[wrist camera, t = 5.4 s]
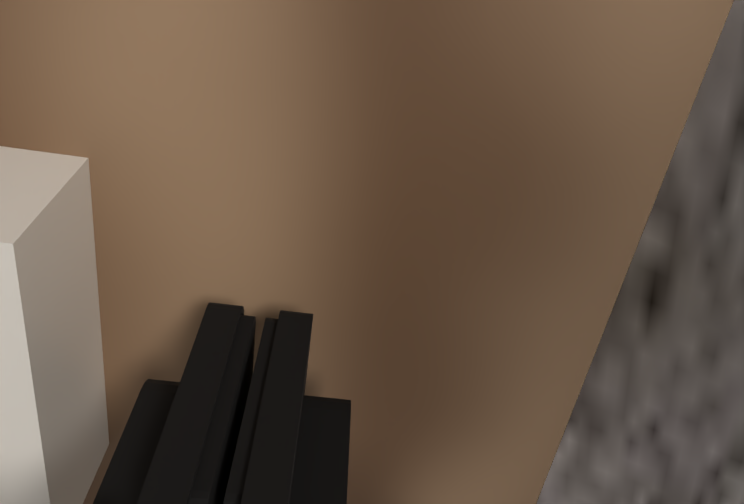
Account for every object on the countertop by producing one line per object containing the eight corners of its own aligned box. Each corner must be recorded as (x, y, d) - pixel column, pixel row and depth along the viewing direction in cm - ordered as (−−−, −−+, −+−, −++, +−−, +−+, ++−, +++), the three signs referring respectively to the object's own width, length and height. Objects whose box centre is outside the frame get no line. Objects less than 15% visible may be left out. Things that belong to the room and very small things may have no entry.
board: (648, -79, 12) (750, -41, 9) (475, 470, 20) (495, 607, 16) (-581, -277, 11) (-1008, -320, 8) (-281, 387, 18) (-434, 517, 15)
